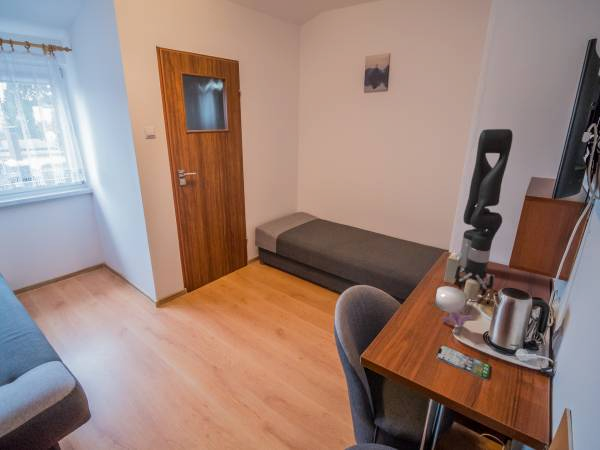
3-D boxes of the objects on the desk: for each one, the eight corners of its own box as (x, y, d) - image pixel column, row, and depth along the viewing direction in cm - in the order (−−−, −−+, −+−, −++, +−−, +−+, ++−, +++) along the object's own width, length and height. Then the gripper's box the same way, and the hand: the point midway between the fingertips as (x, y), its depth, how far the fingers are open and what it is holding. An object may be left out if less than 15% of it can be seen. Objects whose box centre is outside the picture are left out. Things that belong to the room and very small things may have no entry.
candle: (473, 294, 134) (477, 274, 131) (479, 301, 129) (483, 281, 126) (460, 294, 135) (464, 274, 131) (465, 301, 129) (470, 280, 126)
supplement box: (454, 285, 142) (459, 260, 138) (443, 282, 145) (447, 257, 140) (458, 278, 148) (462, 253, 144) (447, 275, 151) (451, 251, 147)
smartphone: (488, 380, 90) (435, 357, 98) (487, 383, 90) (435, 359, 99) (491, 364, 96) (441, 344, 104) (490, 367, 96) (440, 346, 104)
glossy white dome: (440, 295, 134) (442, 283, 132) (467, 304, 127) (469, 292, 125) (431, 306, 126) (433, 294, 124) (459, 317, 119) (462, 304, 117)
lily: (480, 336, 110) (477, 309, 112) (475, 341, 101) (472, 312, 103) (445, 333, 117) (442, 307, 119) (437, 338, 108) (434, 310, 110)
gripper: (499, 259, 124) (491, 294, 129) (462, 250, 132) (456, 282, 138) (496, 266, 118) (488, 301, 124) (457, 256, 127) (451, 289, 132)
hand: (471, 291), depth 131 cm, fingers open, 8 cm apart
